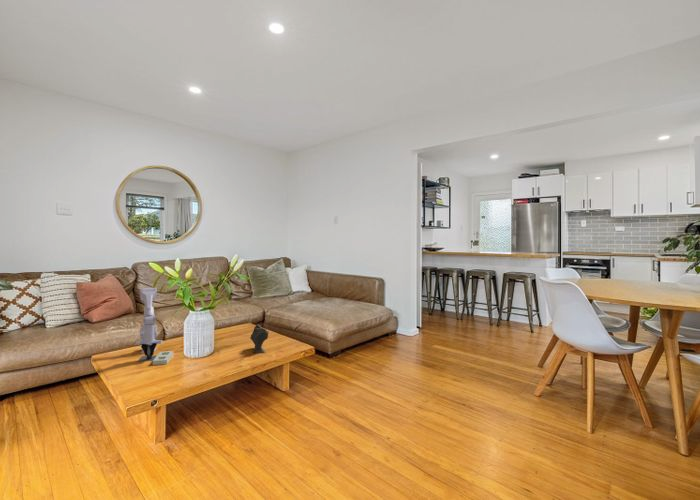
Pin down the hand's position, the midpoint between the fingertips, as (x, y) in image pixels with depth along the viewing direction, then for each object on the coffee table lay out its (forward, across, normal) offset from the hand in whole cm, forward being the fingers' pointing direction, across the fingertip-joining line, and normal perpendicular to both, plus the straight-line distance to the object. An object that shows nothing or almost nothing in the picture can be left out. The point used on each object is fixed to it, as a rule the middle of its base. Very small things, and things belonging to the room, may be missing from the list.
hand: (149, 355), depth 215 cm
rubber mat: (+3, -1, +1) cm, 3 cm away
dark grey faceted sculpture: (+3, +69, +7) cm, 69 cm away
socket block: (+3, +9, -3) cm, 10 cm away
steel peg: (+3, 0, 0) cm, 3 cm away
